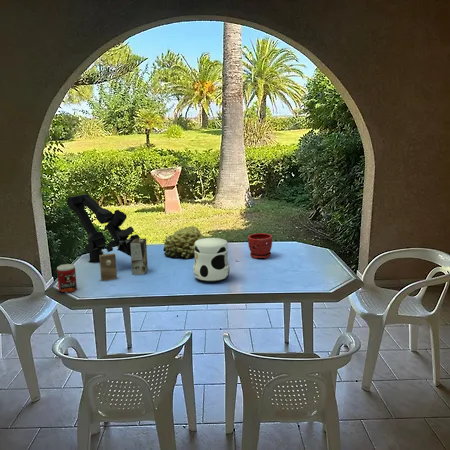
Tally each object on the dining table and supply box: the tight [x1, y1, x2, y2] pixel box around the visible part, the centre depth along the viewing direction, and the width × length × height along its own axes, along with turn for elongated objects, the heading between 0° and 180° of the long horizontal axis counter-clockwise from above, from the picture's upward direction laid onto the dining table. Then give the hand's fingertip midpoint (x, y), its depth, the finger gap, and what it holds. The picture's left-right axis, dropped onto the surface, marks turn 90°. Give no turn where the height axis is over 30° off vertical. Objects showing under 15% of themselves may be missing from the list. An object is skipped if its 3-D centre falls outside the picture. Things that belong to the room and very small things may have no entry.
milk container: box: [192, 237, 231, 283], centre depth 213 cm, size 17×17×18 cm
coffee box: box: [130, 238, 149, 275], centre depth 224 cm, size 9×6×16 cm
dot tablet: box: [99, 253, 118, 282], centre depth 214 cm, size 3×7×12 cm, turn 116°
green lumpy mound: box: [163, 225, 205, 260], centre depth 255 cm, size 25×24×16 cm
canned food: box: [56, 263, 78, 293], centre depth 200 cm, size 8×8×11 cm
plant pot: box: [247, 232, 273, 259], centre depth 247 cm, size 13×13×12 cm
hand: (132, 255), depth 227 cm, fingers closed
